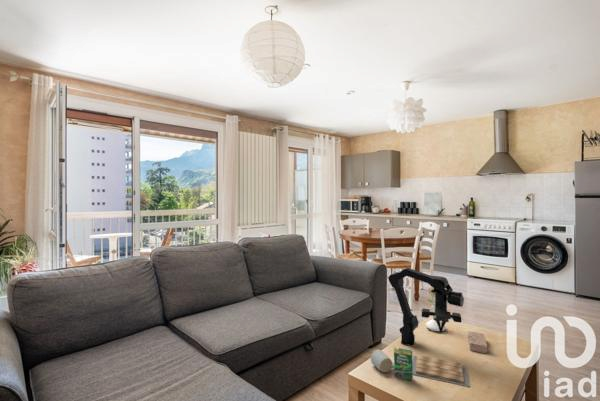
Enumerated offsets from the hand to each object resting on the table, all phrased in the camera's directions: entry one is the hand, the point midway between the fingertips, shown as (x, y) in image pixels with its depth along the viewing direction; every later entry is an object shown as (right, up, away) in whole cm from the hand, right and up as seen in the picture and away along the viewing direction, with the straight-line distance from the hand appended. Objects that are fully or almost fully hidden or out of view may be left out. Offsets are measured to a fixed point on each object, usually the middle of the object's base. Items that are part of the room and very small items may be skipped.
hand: (440, 331), depth 162 cm
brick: (+24, -12, +9) cm, 28 cm away
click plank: (-6, -12, -11) cm, 18 cm away
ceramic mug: (-33, -13, -12) cm, 37 cm away
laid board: (-9, -13, -18) cm, 24 cm away
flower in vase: (+10, -11, +30) cm, 33 cm away
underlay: (-7, -13, -14) cm, 20 cm away
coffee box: (-26, -13, -20) cm, 35 cm away
